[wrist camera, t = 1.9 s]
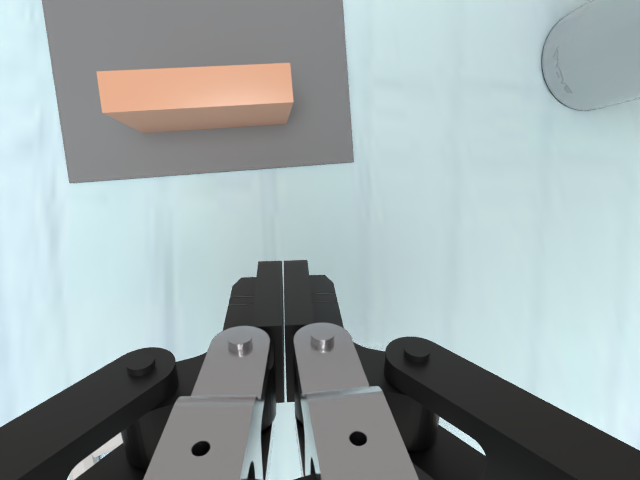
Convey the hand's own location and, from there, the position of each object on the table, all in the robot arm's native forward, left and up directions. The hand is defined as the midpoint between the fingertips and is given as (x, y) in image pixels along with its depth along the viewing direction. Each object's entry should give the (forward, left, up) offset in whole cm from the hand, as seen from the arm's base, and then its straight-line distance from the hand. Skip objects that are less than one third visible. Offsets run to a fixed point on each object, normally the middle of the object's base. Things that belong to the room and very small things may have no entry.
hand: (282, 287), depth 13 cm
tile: (+1, -11, -25) cm, 27 cm away
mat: (0, -15, -25) cm, 29 cm away
